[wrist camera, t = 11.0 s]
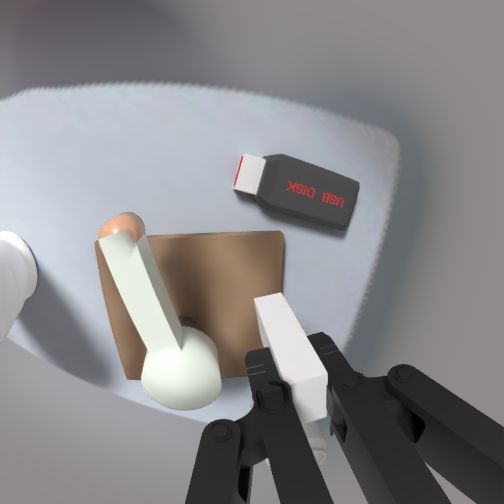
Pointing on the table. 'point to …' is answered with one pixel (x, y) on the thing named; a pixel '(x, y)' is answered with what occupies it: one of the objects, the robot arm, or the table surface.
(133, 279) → the tan-tipped lever stick
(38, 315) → the table surface
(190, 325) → the stud
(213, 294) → the base plate
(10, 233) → the jar
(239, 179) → the usb drive
